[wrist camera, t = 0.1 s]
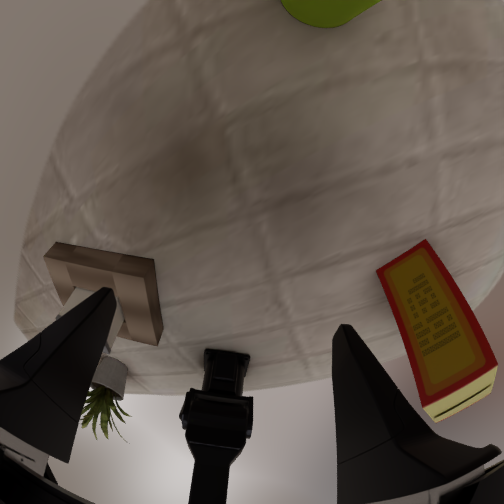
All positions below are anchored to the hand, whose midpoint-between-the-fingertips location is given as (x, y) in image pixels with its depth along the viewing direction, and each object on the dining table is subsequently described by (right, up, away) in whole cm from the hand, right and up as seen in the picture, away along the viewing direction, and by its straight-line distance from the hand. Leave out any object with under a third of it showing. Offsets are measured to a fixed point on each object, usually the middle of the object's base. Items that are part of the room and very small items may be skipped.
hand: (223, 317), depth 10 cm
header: (-17, -2, +21) cm, 27 cm away
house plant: (-26, -18, +33) cm, 46 cm away
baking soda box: (+20, -1, +17) cm, 26 cm away
